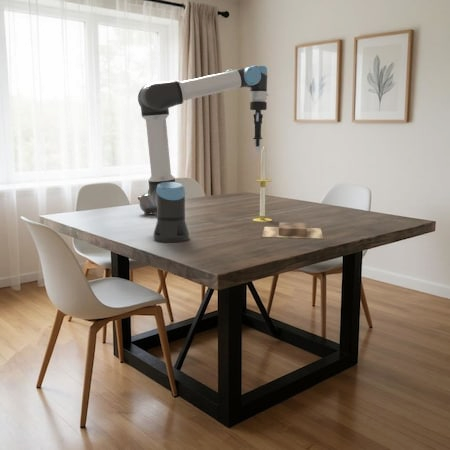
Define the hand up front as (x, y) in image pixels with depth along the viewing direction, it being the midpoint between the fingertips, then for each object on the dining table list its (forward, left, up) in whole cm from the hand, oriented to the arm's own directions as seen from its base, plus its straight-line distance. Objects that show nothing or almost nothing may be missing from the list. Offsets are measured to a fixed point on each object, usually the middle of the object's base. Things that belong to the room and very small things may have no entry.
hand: (257, 153), depth 250 cm
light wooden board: (+17, -13, -34) cm, 41 cm away
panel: (+17, -7, -32) cm, 37 cm away
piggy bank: (-57, +25, -35) cm, 71 cm away
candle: (+2, +16, -35) cm, 38 cm away
